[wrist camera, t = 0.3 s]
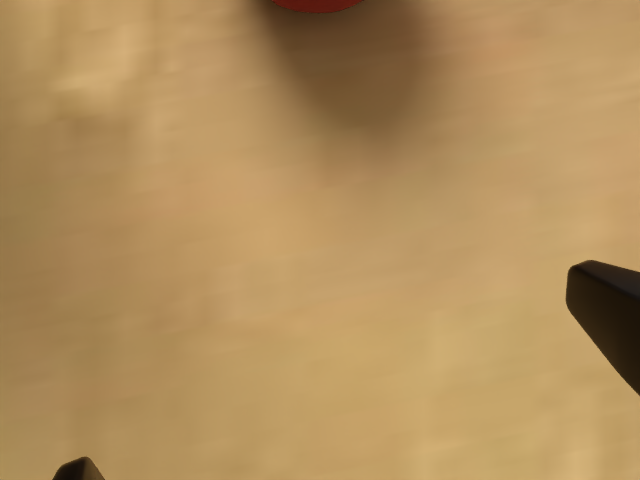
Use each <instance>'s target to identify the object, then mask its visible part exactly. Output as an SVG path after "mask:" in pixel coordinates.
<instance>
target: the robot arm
mask: <svg viewBox="0 0 640 480" xmlns="http://www.w3.org/2000/svg"><path fill="white" fill-rule="evenodd" d="M566 304H567V307H568V309H569V311H570V312H571V314H572V315H573V316H574V318H575V319H576V320H577V321H578V323H579V324H580V325H581V327H582V328H583V329H584V330H585V332H586V333H587V334H588V335H589V337H590V338H591V339H592V341H593V342H594V343H595V344H596V346H597V347H598V348H599V349H600V351H601V352H602V353H603V355H604V356H605V357H606V358H607V360H608V361H609V362H610V364H611V365H612V366H613V367H614V368H615V370H616V371H617V372H618V373H619V374H620V375H621V377H622V378H623V379H624V380H625V381H626V382H627V383H628V384H629V385H630V386H631V387H632V388H633V389H634V391H635V392H636V393H637V394H638V395H639V396H640V272H637V271H633V270H629V269H625V268H621V267H618V266H614V265H610V264H606V263H602V262H598V261H594V260H587V261H584V262H582V263H579V264H576V265H574V266H572V267H570V269H569V271H568V277H567V288H566ZM52 480H105V479H104V477H103V476H102V475H101V473H100V472H99V470H98V469H97V467H96V466H95V464H94V463H93V461H92V460H91V459H90V458H88V457H81V458H79V459H76V460H73V461H71V462H68V463H66V464H64V465H62V466H61V467H60V468H59V469H58V471H57V472H56V474H55V476H54V478H53V479H52Z"/></svg>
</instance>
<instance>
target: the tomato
mask: <svg viewBox="0 0 640 480" xmlns="http://www.w3.org/2000/svg"><path fill="white" fill-rule="evenodd" d="M271 1H273V2H274V3H276V4H277V5H279V6H282V7H285V8H288V9H291V10H294V11H300V12H311V13H327V12H336V11H340V10H343V9H345V8H348V7H351V6H353V5H355V4H357V3H359V2H361V1H363V0H271Z"/></svg>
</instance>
